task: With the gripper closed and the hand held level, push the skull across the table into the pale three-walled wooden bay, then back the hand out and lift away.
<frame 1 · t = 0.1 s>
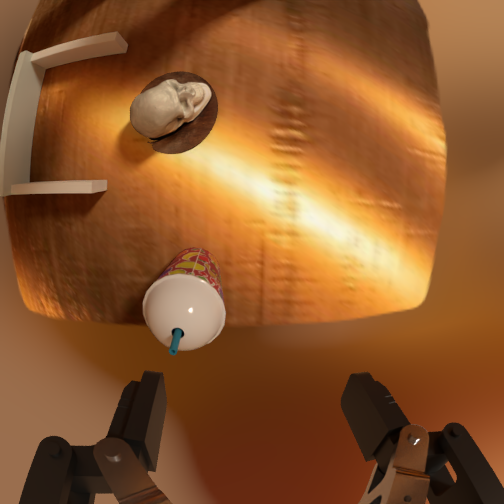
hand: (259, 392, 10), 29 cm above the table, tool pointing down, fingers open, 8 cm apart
smoothie: (196, 267, 39), on the table
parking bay: (70, 117, 31), on the table
skull: (174, 112, 33), on the table
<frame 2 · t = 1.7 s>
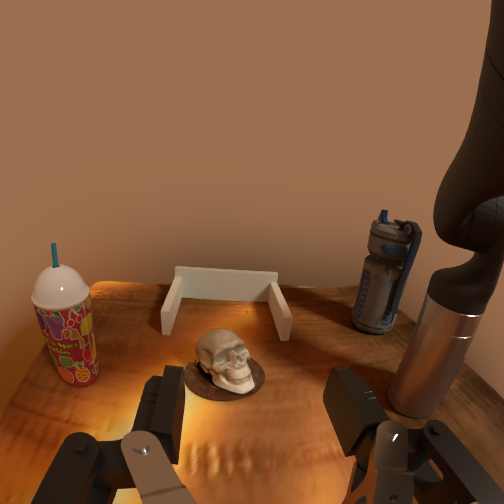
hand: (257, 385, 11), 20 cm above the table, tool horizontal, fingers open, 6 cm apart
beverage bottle: (372, 327, 55), on the table
smoothie: (81, 376, 32), on the table
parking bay: (225, 317, 55), on the table
skull: (224, 377, 38), on the table
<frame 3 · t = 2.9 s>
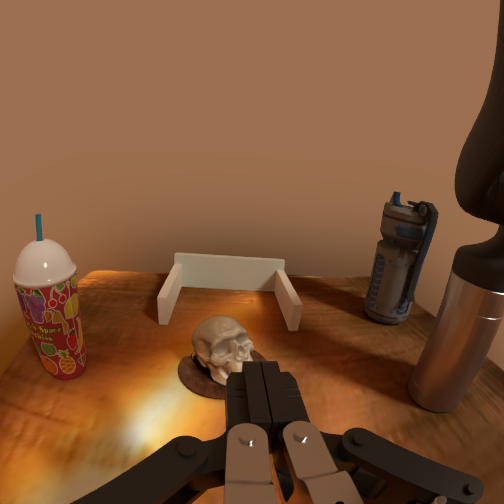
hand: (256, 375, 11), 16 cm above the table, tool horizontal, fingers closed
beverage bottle: (386, 318, 51), on the table
smoothie: (67, 368, 28), on the table
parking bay: (228, 306, 51), on the table
skull: (224, 372, 34), on the table
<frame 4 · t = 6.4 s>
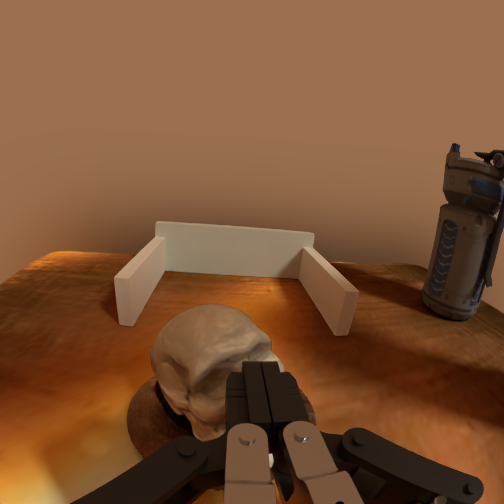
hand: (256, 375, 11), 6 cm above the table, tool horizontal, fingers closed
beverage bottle: (450, 312, 33), on the table
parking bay: (233, 298, 33), on the table
skull: (220, 419, 15), on the table, touching gripper
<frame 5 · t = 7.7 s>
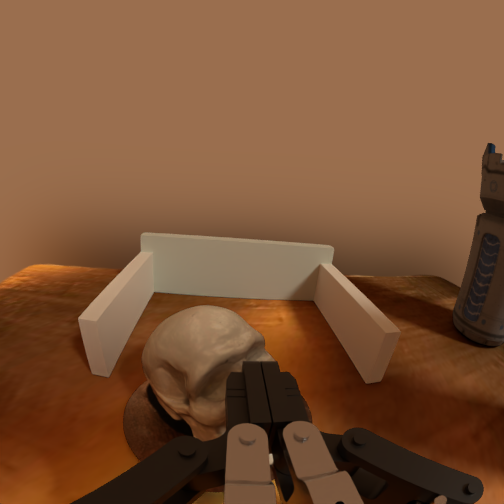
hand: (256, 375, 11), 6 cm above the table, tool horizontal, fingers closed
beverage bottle: (481, 335, 25), on the table
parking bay: (237, 333, 26), on the table
skull: (216, 420, 15), on the table, touching gripper
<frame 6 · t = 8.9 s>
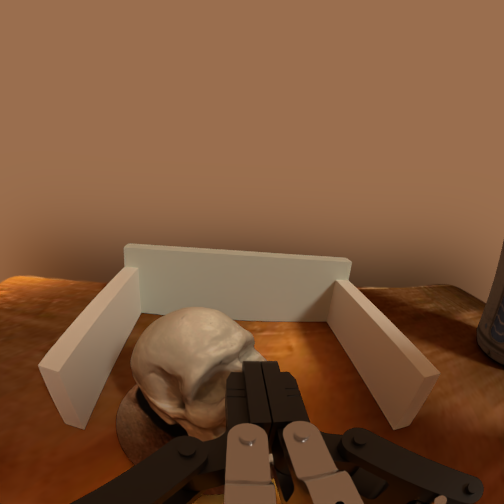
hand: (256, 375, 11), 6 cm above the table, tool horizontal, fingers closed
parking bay: (239, 369, 20), on the table
skull: (209, 421, 15), on the table
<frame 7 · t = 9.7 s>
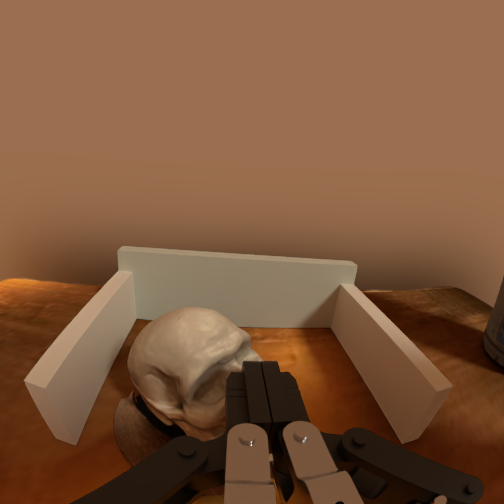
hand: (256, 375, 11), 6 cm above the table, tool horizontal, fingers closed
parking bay: (239, 381, 19), on the table
skull: (206, 422, 15), on the table
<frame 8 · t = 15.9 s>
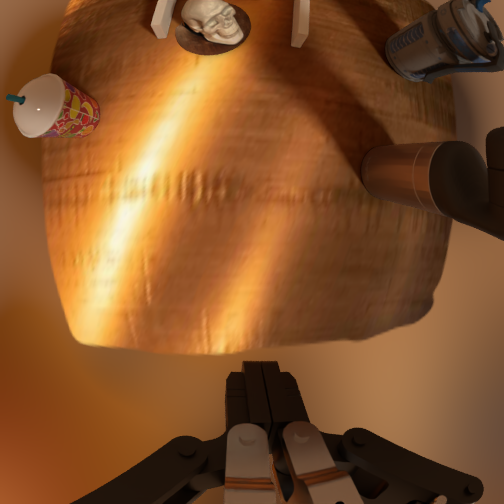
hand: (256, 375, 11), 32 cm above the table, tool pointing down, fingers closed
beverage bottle: (403, 63, 36), on the table
smoothie: (86, 119, 35), on the table
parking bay: (234, 3, 31), on the table
skull: (212, 28, 33), on the table
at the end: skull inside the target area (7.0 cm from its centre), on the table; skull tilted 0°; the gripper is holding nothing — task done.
